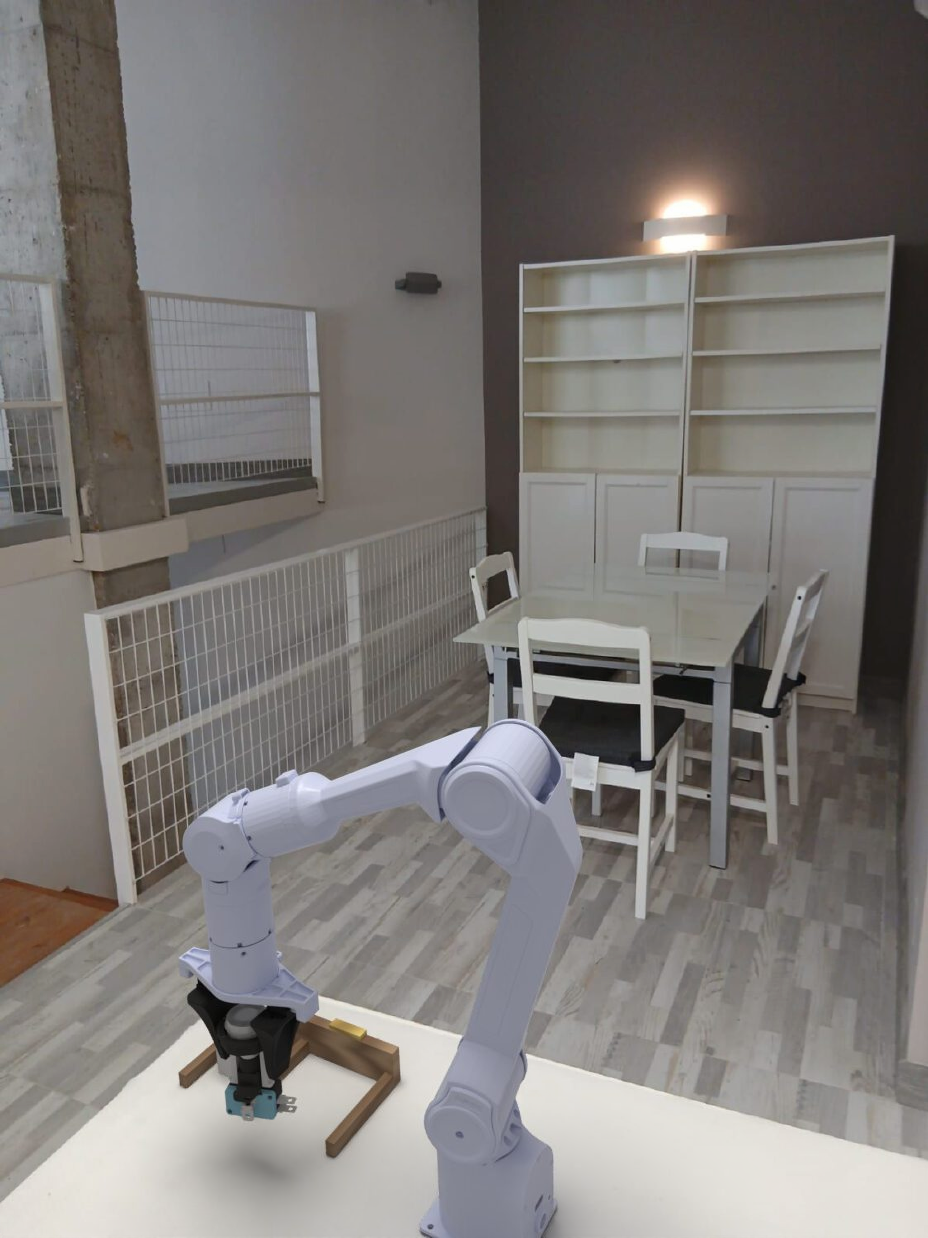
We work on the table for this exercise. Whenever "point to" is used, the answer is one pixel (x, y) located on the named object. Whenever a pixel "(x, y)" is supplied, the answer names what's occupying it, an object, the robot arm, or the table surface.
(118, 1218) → the table surface
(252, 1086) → the push button
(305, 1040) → the wooden bench frame
